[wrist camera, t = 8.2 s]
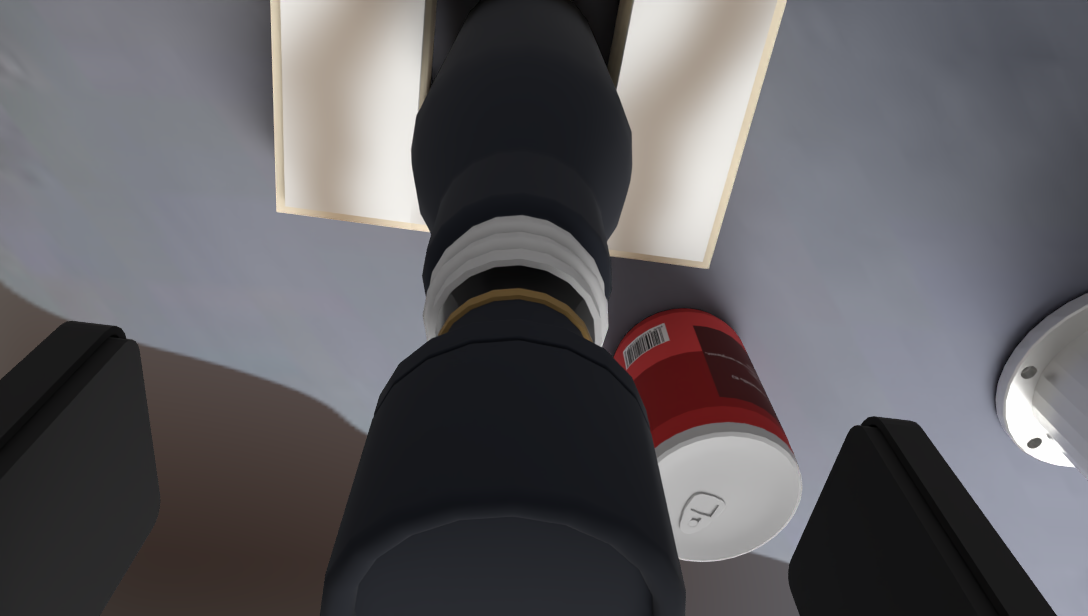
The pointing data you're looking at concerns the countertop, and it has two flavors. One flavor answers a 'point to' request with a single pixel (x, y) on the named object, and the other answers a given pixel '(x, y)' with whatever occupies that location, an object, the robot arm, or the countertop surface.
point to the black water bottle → (513, 356)
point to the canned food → (711, 434)
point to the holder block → (405, 79)
